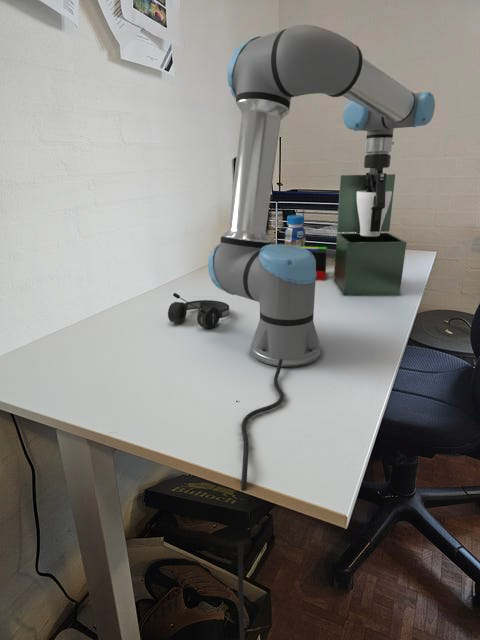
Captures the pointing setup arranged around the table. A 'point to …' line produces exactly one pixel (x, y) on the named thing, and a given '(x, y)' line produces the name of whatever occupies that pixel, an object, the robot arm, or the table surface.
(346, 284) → the bin
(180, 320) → the headset
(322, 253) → the puzzle toy
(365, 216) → the cup
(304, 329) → the robot arm
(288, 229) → the beverage bottle
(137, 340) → the table surface
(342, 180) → the bin lid
